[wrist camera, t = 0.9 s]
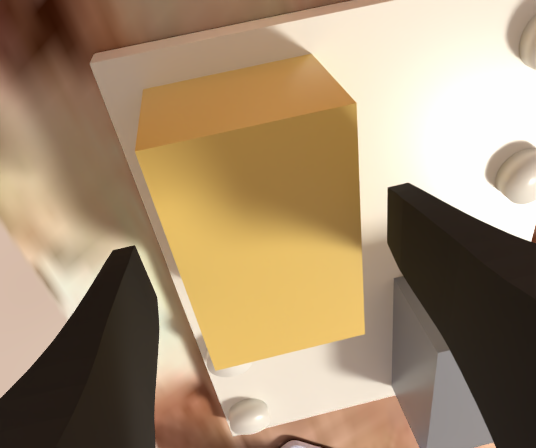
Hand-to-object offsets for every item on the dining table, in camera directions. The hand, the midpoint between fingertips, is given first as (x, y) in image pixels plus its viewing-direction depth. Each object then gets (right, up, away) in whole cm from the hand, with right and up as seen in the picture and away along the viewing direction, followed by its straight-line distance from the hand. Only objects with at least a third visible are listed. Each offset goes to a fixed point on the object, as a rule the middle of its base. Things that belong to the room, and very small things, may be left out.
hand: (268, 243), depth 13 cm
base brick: (+8, -4, +9) cm, 13 cm away
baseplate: (+4, -1, +7) cm, 8 cm away
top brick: (-1, +2, +3) cm, 3 cm away
